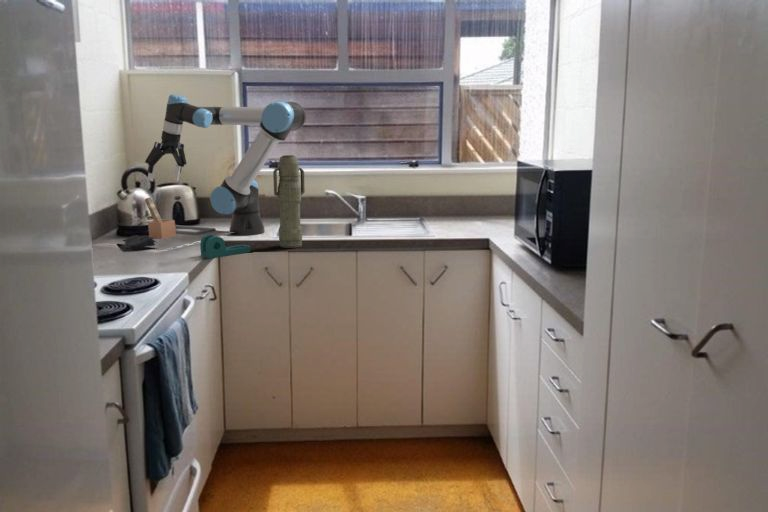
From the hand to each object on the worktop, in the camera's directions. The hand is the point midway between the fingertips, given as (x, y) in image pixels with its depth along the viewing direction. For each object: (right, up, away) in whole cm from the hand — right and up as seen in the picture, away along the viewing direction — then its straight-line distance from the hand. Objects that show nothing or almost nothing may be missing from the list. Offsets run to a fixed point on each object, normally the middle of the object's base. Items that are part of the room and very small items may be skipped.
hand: (163, 180), depth 296 cm
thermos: (+58, -29, -26) cm, 70 cm away
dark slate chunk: (-4, -29, -18) cm, 35 cm away
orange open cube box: (+2, -26, -5) cm, 26 cm away
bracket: (+36, -32, -39) cm, 62 cm away
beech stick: (0, -25, -4) cm, 25 cm away
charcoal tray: (+7, -23, +8) cm, 25 cm away
